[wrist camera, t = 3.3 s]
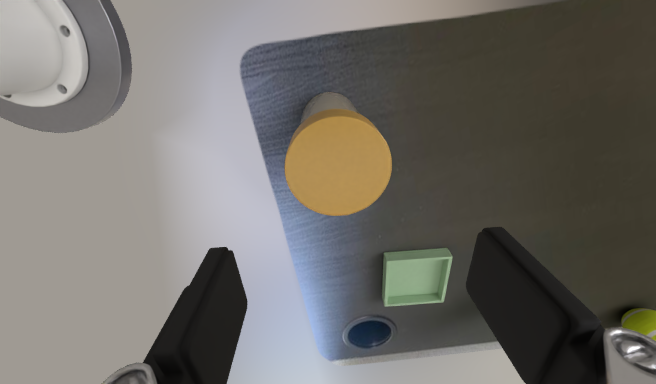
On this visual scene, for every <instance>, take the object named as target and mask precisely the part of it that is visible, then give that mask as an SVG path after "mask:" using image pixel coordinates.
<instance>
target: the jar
mask: <svg viewBox="0 0 656 384" xmlns="http://www.w3.org/2000/svg"><path fill="white" fill-rule="evenodd" d="M328 109H346V110H350V111H354V112H356V113H358V111H357V110H356V108H355V107H354V105H353V104H352V102H351V101H350V100H349V99H348V98H346V97H345V96H343V95H341V94H339V93H335V92H325V93H321V94H319V95H317V96H315V97H313V98H312V99H311V100H310V101H309V102H308V103H307V105H306V106H305V108H304V111H303V114H302V118H301V123H300V125H301V124H302V123H303V122H304V121H305V120H306V119H307V118H309V117H310V116H312V115H314V114H316V113H318V112H321V111H324V110H328Z"/></svg>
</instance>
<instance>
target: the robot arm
mask: <svg viewBox="0 0 656 384" xmlns="http://www.w3.org/2000/svg"><path fill="white" fill-rule="evenodd" d="M87 73H88V53H87V48H86V43H85V40H84V38H83V35H82V32H81V30H80V27H79V25H78V24H77V22H76V20H75V18H74V16H73V15H72V13H71V11H70V10H69V8H68V7H67V6H66V4H65V3H64V2H63V0H0V97H1V98H3V99H5V100H8V101H10V102H13V103H16V104H20V105H25V106H30V107H47V106H53V105H58V104H61V103H64V102H67V101H69V100H70V99H72V98H73V97H75V96H76V95H77V94H78V93H79V92H80V90H81V89H82V87H83V85H84V83H85V81H86V78H87ZM466 289H467V292H468V294H469V295H470V297H471V298H472V300H473V302H474V303H475V305H476V306H477V308H478V310H479V311H480V313H481V314H482V316H483V318H484V319H485V321H486V322H487V324H488V326H489V327H490V329H491V330H492V332H493V334H494V335H495V337H496V338H497V340H498V342H499V343H500V345H501V346H502V348H503V350H504V351H505V353H506V354H507V356H508V358H509V359H510V361H511V362H512V364H513V366H514V367H515V369H516V370H517V372H518V374H519V375H520V377H521V378H522V380H523V381H524V382H525V383H526V384H656V341H655V340H653V339H652V338H650V337H648V336H646V335H644V334H641V333H639V332H637V331H633V330H630V329H627V328H619V327H614V328H609V329H607V330H605V329H604V328H603V327H602V326H601V325H600V323H601V322H602V321H601V320H600V319H599V318H597V317H596V316H595V315H594V314H593V313H592V312H591V311H590V310H589V309H588V308H587V307H586V306H585V305H584V304H583V303H582V302H581V301H580V300H579V299H577V298H576V297H575V296H574V295H573V294H572V293H571V292H570V291H569V290H568V289H567V288H566V287H565V286H564V285H563V284H562V283H561V282H560V281H558V280H557V279H556V278H555V277H554V276H553V275H552V274H551V273H550V272H549V271H548V270H547V269H546V268H545V267H544V266H543V265H542V264H541V263H540V262H538V261H537V260H536V259H535V258H534V257H533V256H532V255H531V254H530V253H529V252H528V251H527V250H526V249H525V248H524V247H523V246H522V245H521V244H520V243H518V242H517V241H516V240H515V239H514V238H513V237H512V236H511V235H510V234H509V233H508V232H507V231H506V230H505V229H504V228H502V227H491V228H484V229H483V230H482V232H480V233H479V234H478V236H477V240H476V244H475V248H474V252H473V256H472V261H471V265H470V269H469V273H468V277H467V281H466ZM246 310H247V298H246V294H245V291H244V287H243V284H242V281H241V277H240V274H239V270H238V267H237V264H236V260H235V257H234V253H233V251H231V250H230V251H229V250H228V248H227V247H219V248H210V249H209V251H208V253H207V254H206V256H205V258H204V260H203V262H202V263H201V265H200V267H199V269H198V271H197V273H196V274H195V277H194V278H193V280H192V282H191V284H190V285H189V286H187V287H186V288H185V289H184V290H183V292H182V294H181V295H180V297H179V299H178V301H177V303H176V304H175V306H174V308H173V310H172V311H171V313H170V315H169V317H168V319H167V320H166V322H165V324H164V326H163V328H162V329H161V331H160V333H159V335H158V337H157V339H156V340H155V342H154V344H153V346H152V347H151V349H150V351H149V353H148V354H147V356H146V358H145V360H144V362H143V363H134V364H130V365H127V366H125V367H123V368H121V369H119V370H117V371H116V372H115V373H114V374H112V375H111V376H109V377H108V378H107V379H106V380H105V381H104V382H103V383H102V384H227V380H228V376H229V373H230V369H231V365H232V362H233V358H234V354H235V350H236V347H237V343H238V340H239V336H240V332H241V328H242V325H243V321H244V318H245V314H246Z"/></svg>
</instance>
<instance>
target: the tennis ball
mask: <svg viewBox="0 0 656 384" xmlns="http://www.w3.org/2000/svg"><path fill="white" fill-rule="evenodd" d="M621 323H622V327H623V328H627V329H630V330H633V331H637V332H639V333H641V334H644V335H646V336H648V337H650V338H652V339H653V340H655V341H656V311H654V310H650V309H646V308H636V309H631V310H629V311H627V312H626V313H625V314H624V315H623V317H622V320H621Z"/></svg>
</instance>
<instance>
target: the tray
mask: <svg viewBox="0 0 656 384" xmlns="http://www.w3.org/2000/svg"><path fill="white" fill-rule="evenodd" d="M452 257H453V256H452V255H451V253H450V252H449V250H448V249H447V248H438V249H425V250H411V251H398V252H384V260H383V283H382V299H383V303H384V306H399V305H412V304H426V303H439V302H444V298H445V293H446V288H447V282H448V277H449V272H450V267H451V262H452Z"/></svg>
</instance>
